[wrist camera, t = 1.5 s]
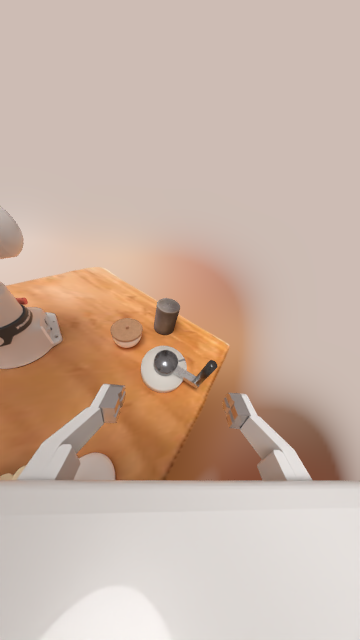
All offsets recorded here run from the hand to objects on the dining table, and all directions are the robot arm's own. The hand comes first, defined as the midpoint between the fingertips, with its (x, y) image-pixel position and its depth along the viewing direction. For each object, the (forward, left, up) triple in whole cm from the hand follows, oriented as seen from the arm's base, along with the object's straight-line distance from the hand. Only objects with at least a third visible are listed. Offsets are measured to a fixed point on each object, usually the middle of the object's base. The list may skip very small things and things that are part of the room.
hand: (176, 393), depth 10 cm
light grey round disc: (-14, +11, -35) cm, 39 cm away
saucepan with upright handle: (-11, +13, -31) cm, 36 cm away
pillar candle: (-33, +19, -35) cm, 52 cm away
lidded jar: (-30, +2, -35) cm, 46 cm away
